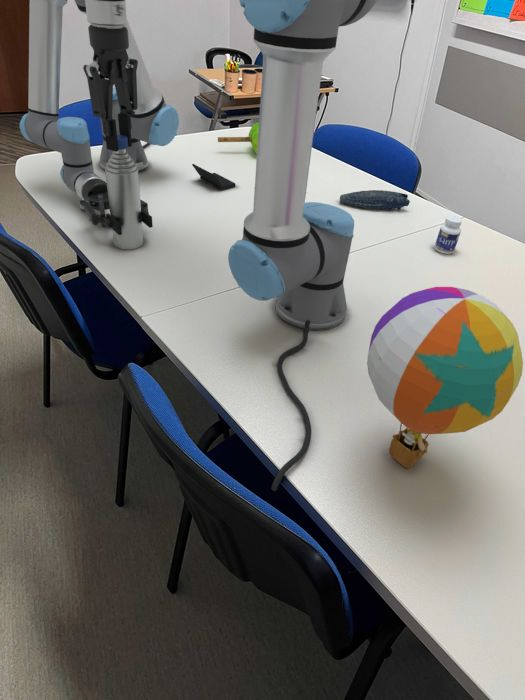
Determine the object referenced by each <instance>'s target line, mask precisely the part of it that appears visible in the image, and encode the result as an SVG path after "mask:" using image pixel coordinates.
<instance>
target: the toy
mask: <svg viewBox="0 0 525 700" xmlns="http://www.w3.org/2000/svg"><path fill="white" fill-rule="evenodd" d="M514 325H515V324H514V323H513V322H512V321H511V319H510V318H509V317H508V316H507V314H506V313H504V311H503V310H502V309H501V308H500V307H499V305H498V304H496V303H495V302H493V301H492V300H490V299H489V298H487V297H486V296H483V295H481V294H479V293H477V292H474V291H472V290H469V289H465V288H461V287H460V288H459V287H455V286H433V287H429V288H425V289H421V290H418V291H414V292H412V293H409V294H407V295H406V296H404V297H401V299H400V300H398V301H397V302H396V303H395V304H394V305H393V306H392V307H391V308H389V309H388V310H387V311H386V312H385V313H384V314H382V316H381V317H380V318H379V320H378V321H377V323H376V324H375V326H374V329H373V331H372V334H371V335H370V343H369V346H368V353H367V361H366V367H367V373H368V377H369V379H370V381H371V384H372V386H373V389H374V391H375V393H376V396H377V398H378V401H380V403H381V404H382V405H383V406H384V407H385V408H386V410H388V412H389V413H391V415H392V416H393V417H394V418H395V419H397V421H398V422H399V423H400V427H399V431H398V434H397V433H396V434H395V433H394V434H393V435H392V439H391V441H390V444H389V450H388V454H389V456H390V457H391V458H393V459H394V460H395V461H396V462H398V464H400V465H401V466H403V467H404V468H406V469H410V468H411V467H412V466H413V465H415V464H416V463H417V462H419V461H420V460H421V459H422V458H423V456H425V454H427V453H428V448H429V442H428V441H427V438H428V437H429V435H444V434H445V435H447V434H457V433H459V434H460V433H465V432H467V431H468V432H469V431H470V430H472V429H475V428H477V427H479V426H480V425H483V424H485V423H488V422H489V421H492V420H493V419H495V418H496V417H497V416H498V415H499V414H501V413H502V412H503V410H504V409H505V407H506V406H507V405H508V403H509V402H510V401H511V398H512V397H513V395H514V393H515V391H516V390H517V388H518V386H519V383H520V382H521V378H522V375H523V367H524V360H523V354H522V348H521V344H520V343H521V342H520V339H519V333H518V331H517V329H516V328H515V326H514ZM402 425H403V426H404V427H405V429H403V430H402V427H403V426H402ZM422 434H423V435H426V436H425V438H423V436H422Z"/></svg>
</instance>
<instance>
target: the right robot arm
mask: <svg viewBox="0 0 525 700" xmlns="http://www.w3.org/2000/svg"><path fill="white" fill-rule="evenodd" d="M238 1H239V5H240V7H242V8H243V12H242V13H243V16H244V17H245V19H246V21H247V22H248V24H250V25H251V27H253V43H254V44H255V45H256V47H257V48H258V49H259V50H260V52H261V53H262V68H261V69H262V71H261V85H260V99H259V100H260V101H259V117H258V122H259V131H258V146H257V154H256V161H255V163H256V164H255V178H254V193H253V207H252V212H250V213H249V214H247V216H246V217H245V218H244V220H243V230H242V239H237V240H236V241H235V242H234V244H232V245H231V246H230V248H229V250H228V255H227V257H228V260H227V261H228V266H229V267H228V268H229V270H230V273H231V275H232V278H233V279H234V281H235V282H236V284H237V285H238V287H239V288H240V289H241V290H242V291H243V293H245V294H246V295H247V296H248V297H251V298H252V299H254V300H256V301H261V302H266V301H270V300H272V299H275V298H276V300H275V311H276V313H277V315H278V316H279V317H280V318H281V319H282V320H283V321H284V322H286V323H287V324H289V325H291V326H293V327H296V328H300V329H303V334H302V340H301V341H300V343H298V344H297V345H296V346H294V347H292V348H290V349H288V350H285V351H284V352H283V353H282V354H281V355H280V356H279V357H278V360H277V362H276V363H277V364H276V369H277V375H278V377H279V380H280V382H281V383H282V386H283V388H284V390H285V392H286V394H287V395H288V396H289V398H290V399H291V400H292V401H293V402H294V403H295V405H296V406H297V408H298V410H299V411H300V413H301V416H302V419H303V423H304V429H305V434H304V439H303V443H302V446H301V448H300V450H299V451H298V452H297V453H296V454H295V455H294V456H292V458H290V459H289V460H288V461H287V462H286V463H284V464H283V466H281V467H280V469H279V470H278V472H277V474H276V475H275V477H274V479H273V481H272V483H271V487H270V488H271V489H270V490H271V491H273V492H276V491H278V489H279V486H280V484H281V481H282V479H283V478H284V476H285V474H286V473H287V472H288V471H289V470H290V469H291V468H292V467H293V466H295V464H297V463H298V462H299V461H300V460H301V459H303V458H304V456H305V455H306V453H307V451H308V449H309V447H310V442H311V439H312V425H311V420H310V416H309V414H308V411H307V409H306V407H305V405H304V404H303V403H302V401H301V399H299V397H298V396H297V395H296V394H295V392H294V391H293V390H292V388H291V386H290V385H289V382H288V380H287V378H286V376H285V372H284V369H283V364H284V360H285V359H286V358H287V357H289V356H291V355H293V354H294V353H297V352H298V351H300V350H301V349H303V348H304V347H305V346H306V344H307V343H308V340H309V331H324V330H325V331H326V330H329V329H333V328H336V327H337V326H339V325H340V324H342V323H343V322H344V320H345V318H346V315H347V310H348V307H347V306H348V305H347V297H346V292H345V286H344V280H345V275H346V271H347V267H348V261H349V257H350V253H351V252H350V251H351V246H352V242H353V238H354V231H355V229H354V228H355V219H354V218H353V215H352V214H350V213H349V212H348V211H346V210H345V209H343V208H340V207H338V206H335V205H332V204H328V203H324V202H316V201H307V202H306V196H307V188H308V180H309V173H310V164H311V157H312V150H313V149H312V148H313V141H314V135H315V127H316V119H317V112H318V103H319V95H320V88H321V81H322V73H323V64H324V61H325V60H326V58H328V56H330V55H331V54H332V53H333V52H334V51H335V50H336V48H337V40H338V34H339V27H347V26H350V25H352V24H355V23H357V22H359V21H360V20H362V19H363V18H364V17H365V16H366V15H367V14H368V13H369V12H371V10H372V9H373V8H374V6H375V5H376V3H377V1H378V0H238ZM85 4H86V13H87V14H86V22H87V23H89V25H88V27H87V28H88V29H87V30H88V38H89V45H90V47H91V48H92V50H93V56H92V62H91V63H89V64H84V65H83V68H82V69H83V72H84V75H85V77H86V79H87V80H86V81H87V86H88V91H89V96H90V97H89V98H90V105H91V110H92V115H93V117H95V118H98V119H100V118H101V119H102V126H103V133H104V135H105V137H106V146H107V149H109V150H112V151H115V152H117V151H118V141H117V131H116V120H114V119H112V107H113V88H115V89H116V94H117V98H118V103H119V107H120V111H121V112H122V114H121V113H119V114H118V121H119V132H120V135H125V136H127V139H128V147H131V146H132V139H131V129H132V122H131V115H134V114H135V111H133V110H137V108H138V104H137V76H136V71H137V66H138V61H137V60H136V59H132V58H129V57H128V54H127V52H126V49H128V48H129V38H128V29H127V28H126V27H124V25H125V24H126V23H127V21H128V18H127V17H128V16H127V6H126V0H85ZM131 102H132V103H131ZM105 112H106V113H105ZM101 119H100V120H101Z"/></svg>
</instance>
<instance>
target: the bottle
mask: <svg viewBox="0 0 525 700" xmlns="http://www.w3.org/2000/svg"><path fill="white" fill-rule="evenodd" d="M104 173H105V180H106V181H105V182H106V183H107V190H108V199H109V207H110V209H109V214H110V215H111V216H112V217H114V218H115V219H116V220H117V221H118V222H119V223H121V229H122V235H118V234H117V233H116V232H115V231H114V230H113V229H112V228H111V233H112V240H113V245H114V246H115V247H116V248H118V249H121V250H135V249H138V248H141V247H142V246H143V245H144V231H143V222H142V216H141V203H140V199H141V192H140V179H139V172H138V168H137V166H136V163H135V162H134V161H133V159H131V156H130V155H128V152H126V149H122V150H118V151H117V152H115V151H114V152H112V155H111V156H110V159H109V160H108V162H107V163H106V167H105V170H104Z"/></svg>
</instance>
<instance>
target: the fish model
mask: <svg viewBox="0 0 525 700" xmlns="http://www.w3.org/2000/svg"><path fill="white" fill-rule="evenodd" d="M410 202H411V201H410V200H409V195H408V194H406V193H403V192H402V193H401V192H399V191H392V190H382V189H380V190H379V189H377V190H376V189H368V190H360V191H352V192H348V193H344V194H341V195H340V196H339V203H343V204H346V205H349V206H351V207H357V208H362V209H371V210H372V209H374V210H384V211H385V210H386V211H391V210H394V209H397V210H402V208H404V207H408V206H409V205H410Z"/></svg>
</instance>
